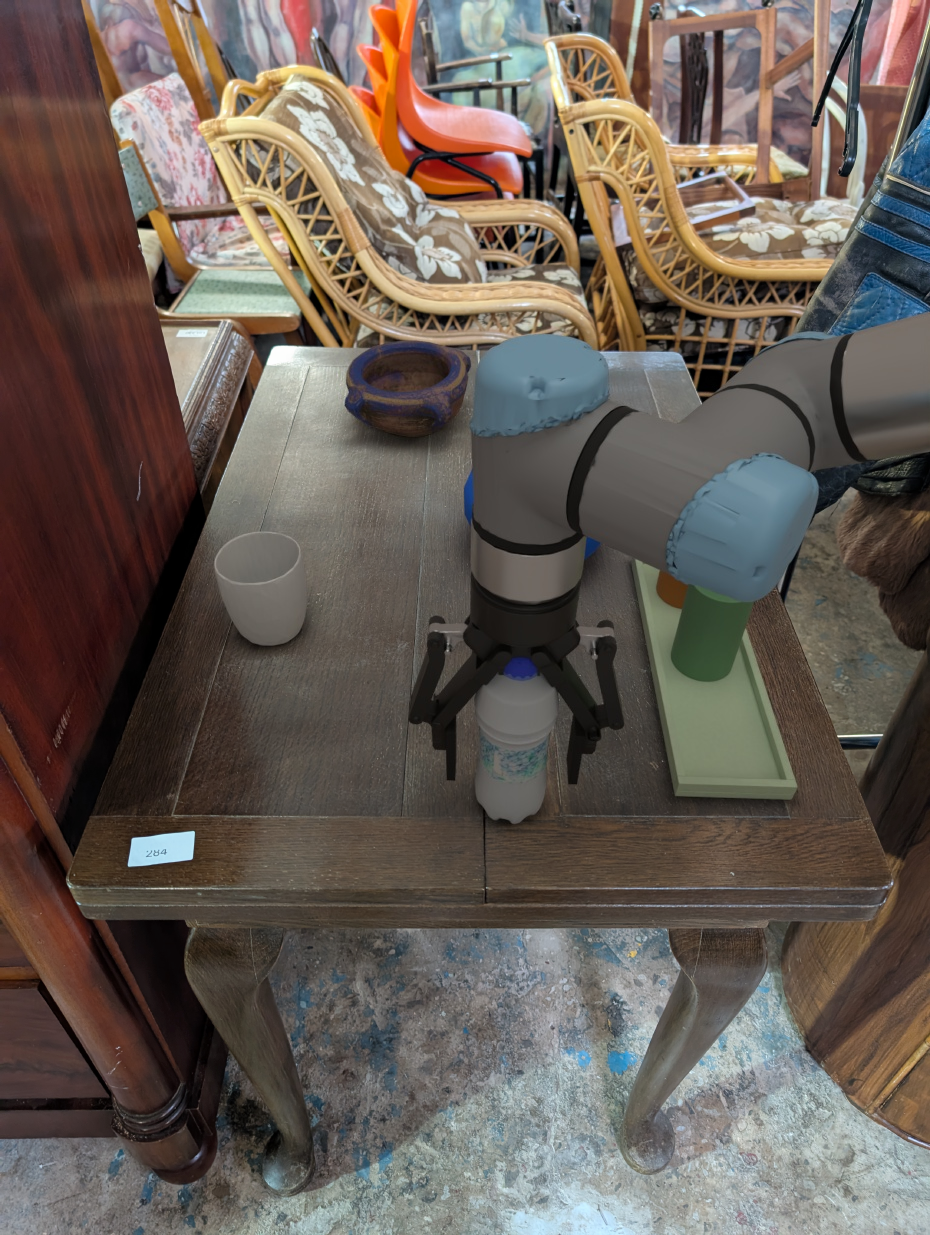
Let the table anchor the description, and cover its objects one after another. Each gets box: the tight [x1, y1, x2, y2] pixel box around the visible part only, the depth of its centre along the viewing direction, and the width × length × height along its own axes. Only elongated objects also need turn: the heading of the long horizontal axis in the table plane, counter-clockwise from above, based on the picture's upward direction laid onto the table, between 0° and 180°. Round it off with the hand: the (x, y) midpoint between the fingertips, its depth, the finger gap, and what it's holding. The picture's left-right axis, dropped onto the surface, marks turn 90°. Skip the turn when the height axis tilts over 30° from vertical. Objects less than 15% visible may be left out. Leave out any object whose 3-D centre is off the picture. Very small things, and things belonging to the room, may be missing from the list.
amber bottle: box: [656, 570, 688, 609], centre depth 87 cm, size 6×6×16 cm
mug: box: [213, 531, 308, 647], centre depth 87 cm, size 13×9×10 cm
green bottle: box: [671, 584, 755, 682], centre depth 79 cm, size 6×6×16 cm
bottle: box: [473, 657, 560, 825], centre depth 65 cm, size 7×7×20 cm
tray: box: [630, 557, 798, 801], centre depth 84 cm, size 34×11×2 cm, turn 178°
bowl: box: [343, 339, 472, 438], centre depth 118 cm, size 18×18×10 cm
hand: (511, 769), depth 69 cm, fingers open, 10 cm apart
